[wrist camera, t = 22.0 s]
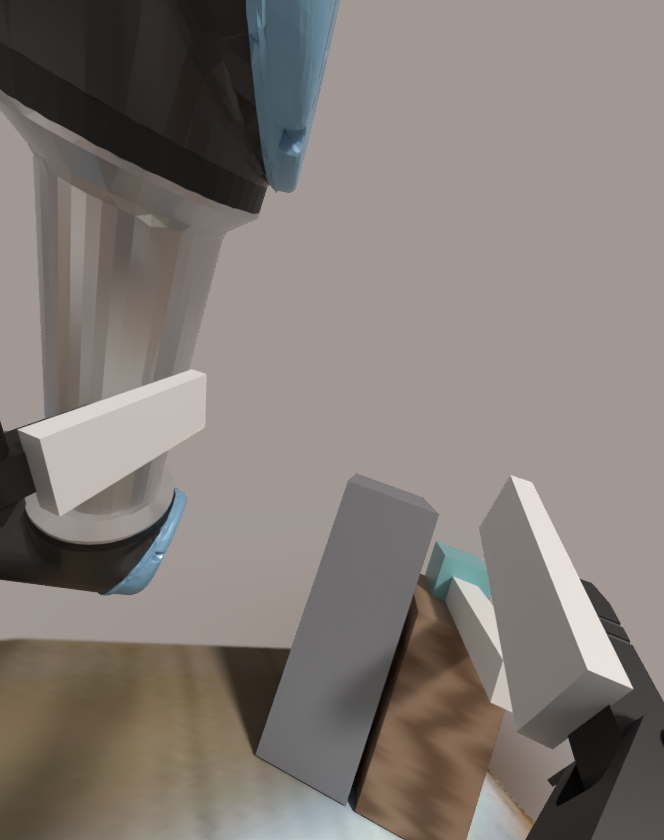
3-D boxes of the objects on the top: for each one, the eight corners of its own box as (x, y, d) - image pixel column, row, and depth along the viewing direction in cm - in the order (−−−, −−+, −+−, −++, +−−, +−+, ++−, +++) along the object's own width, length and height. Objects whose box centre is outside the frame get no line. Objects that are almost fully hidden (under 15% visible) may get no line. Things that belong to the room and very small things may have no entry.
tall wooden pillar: (355, 811, 30) (418, 612, 31) (361, 710, 42) (407, 568, 43) (457, 869, 29) (521, 656, 30) (434, 747, 40) (480, 598, 41)
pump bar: (468, 692, 22) (490, 623, 22) (424, 575, 43) (436, 540, 43) (558, 733, 21) (579, 660, 21) (468, 593, 42) (480, 557, 42)
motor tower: (255, 754, 32) (348, 480, 34) (288, 673, 44) (356, 473, 46) (345, 805, 30) (439, 514, 32) (354, 707, 42) (422, 497, 44)
